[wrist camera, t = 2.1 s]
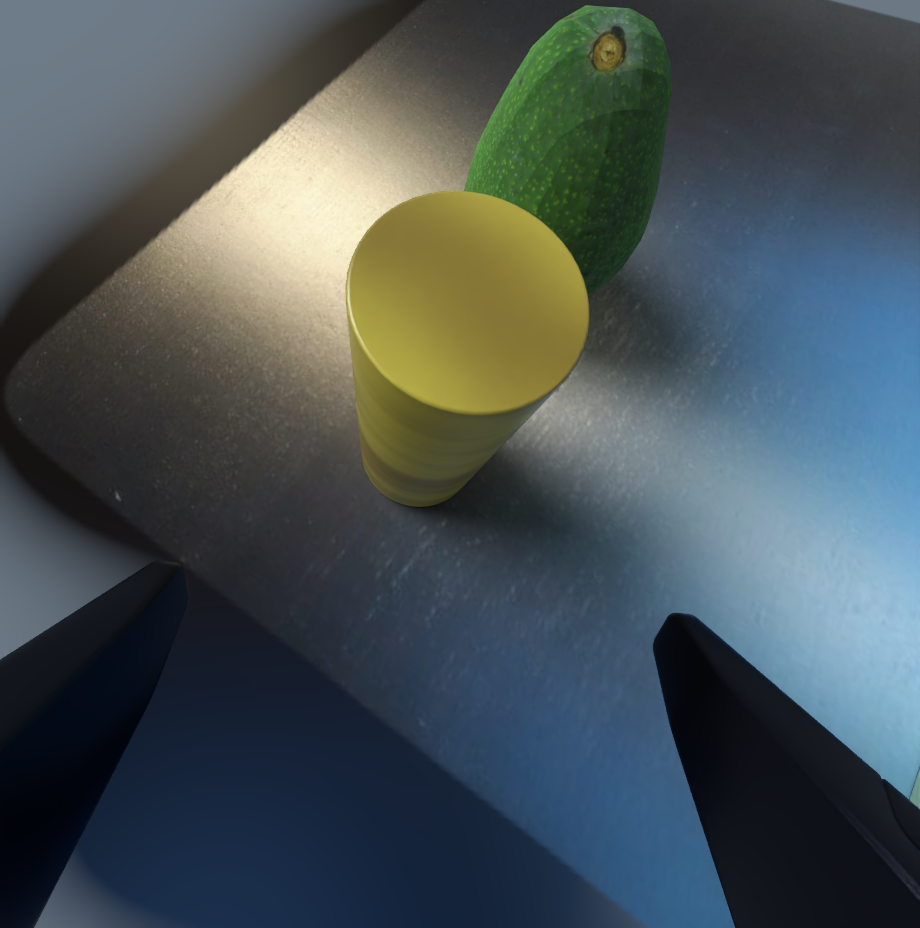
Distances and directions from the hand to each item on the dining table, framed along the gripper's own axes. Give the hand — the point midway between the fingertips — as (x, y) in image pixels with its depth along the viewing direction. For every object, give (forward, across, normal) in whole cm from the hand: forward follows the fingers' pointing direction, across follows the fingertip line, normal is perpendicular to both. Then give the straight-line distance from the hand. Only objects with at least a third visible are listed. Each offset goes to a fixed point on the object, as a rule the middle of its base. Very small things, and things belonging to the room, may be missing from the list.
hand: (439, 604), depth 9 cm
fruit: (+21, -4, -2) cm, 21 cm away
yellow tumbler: (+13, 0, +5) cm, 14 cm away
